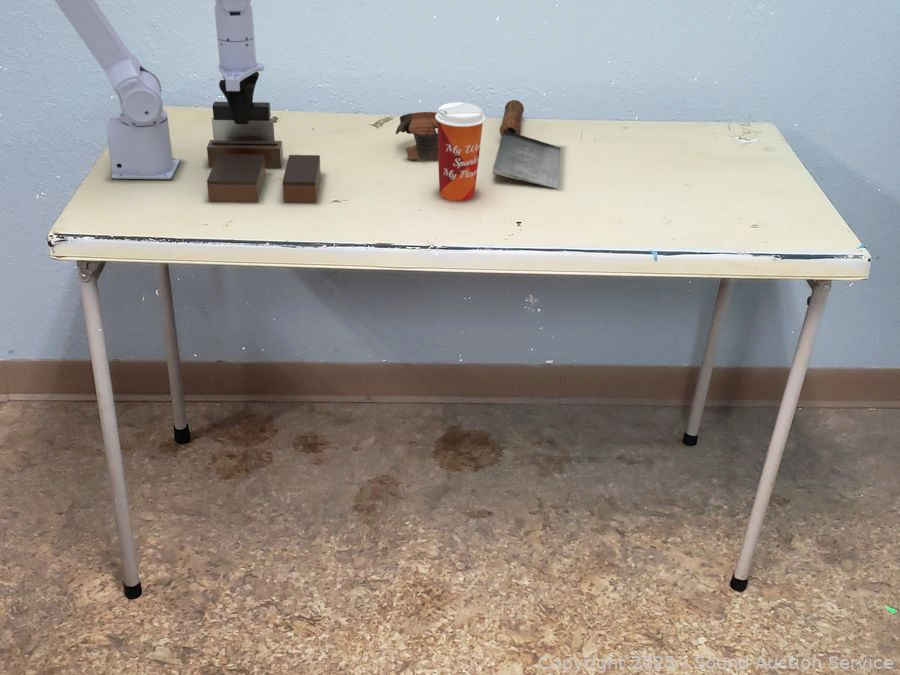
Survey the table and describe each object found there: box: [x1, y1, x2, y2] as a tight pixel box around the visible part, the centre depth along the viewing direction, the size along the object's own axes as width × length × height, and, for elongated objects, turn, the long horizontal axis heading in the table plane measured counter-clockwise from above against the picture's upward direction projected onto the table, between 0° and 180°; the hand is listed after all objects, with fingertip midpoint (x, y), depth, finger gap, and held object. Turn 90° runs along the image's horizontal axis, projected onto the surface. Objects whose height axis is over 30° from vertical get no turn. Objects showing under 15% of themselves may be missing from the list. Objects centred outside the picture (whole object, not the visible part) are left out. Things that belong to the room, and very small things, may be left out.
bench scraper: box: [211, 101, 276, 146], centre depth 157 cm, size 10×2×8 cm, turn 93°
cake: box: [206, 154, 267, 203], centre depth 151 cm, size 8×11×4 cm
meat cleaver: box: [491, 99, 562, 190], centre depth 170 cm, size 34×11×4 cm, turn 174°
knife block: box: [206, 139, 284, 169], centre depth 160 cm, size 12×4×4 cm, turn 93°
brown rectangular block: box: [282, 154, 322, 204], centre depth 152 cm, size 5×11×4 cm, turn 3°
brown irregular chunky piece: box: [395, 111, 438, 161], centre depth 167 cm, size 12×10×8 cm
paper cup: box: [435, 102, 486, 202], centre depth 149 cm, size 8×8×14 cm
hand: (242, 120), depth 157 cm, fingers closed on bench scraper, 2 cm apart
